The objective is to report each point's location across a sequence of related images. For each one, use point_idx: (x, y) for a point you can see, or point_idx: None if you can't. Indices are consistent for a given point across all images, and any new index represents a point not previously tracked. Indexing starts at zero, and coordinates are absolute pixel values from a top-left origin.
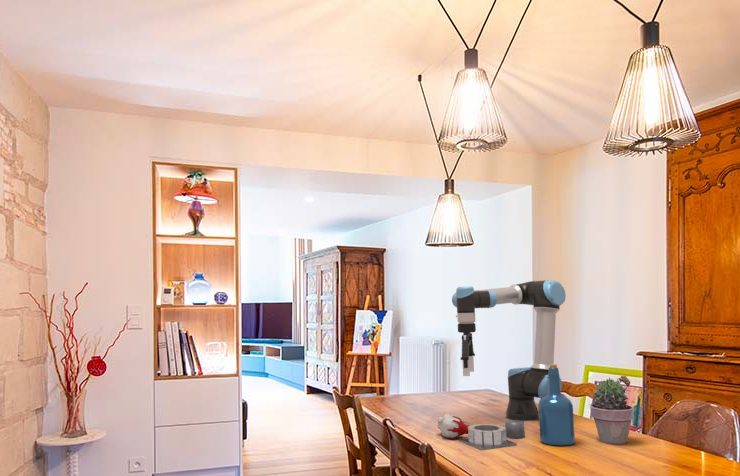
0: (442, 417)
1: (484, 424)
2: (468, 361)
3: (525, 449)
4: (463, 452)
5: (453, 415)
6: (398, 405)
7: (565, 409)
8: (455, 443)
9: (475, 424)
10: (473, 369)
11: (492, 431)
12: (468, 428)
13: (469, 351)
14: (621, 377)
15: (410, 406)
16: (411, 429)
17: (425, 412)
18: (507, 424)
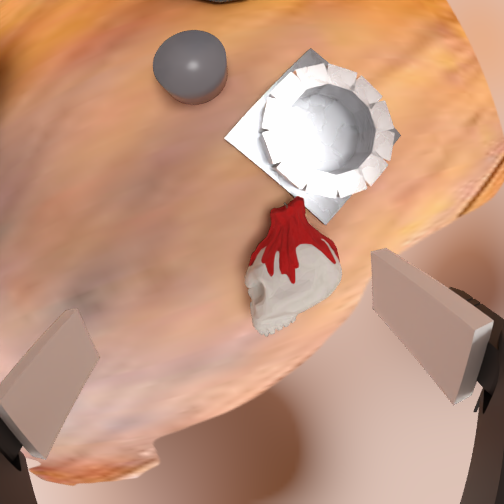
0: (272, 321)
1: (280, 149)
2: (477, 318)
3: (339, 28)
4: (427, 175)
5: (268, 286)
6: None
7: None
8: (355, 223)
9: (293, 182)
10: (70, 320)
11: (376, 100)
12: (365, 188)
13: (13, 487)
14: None
15: None
16: (237, 387)
17: None
18: (220, 77)
